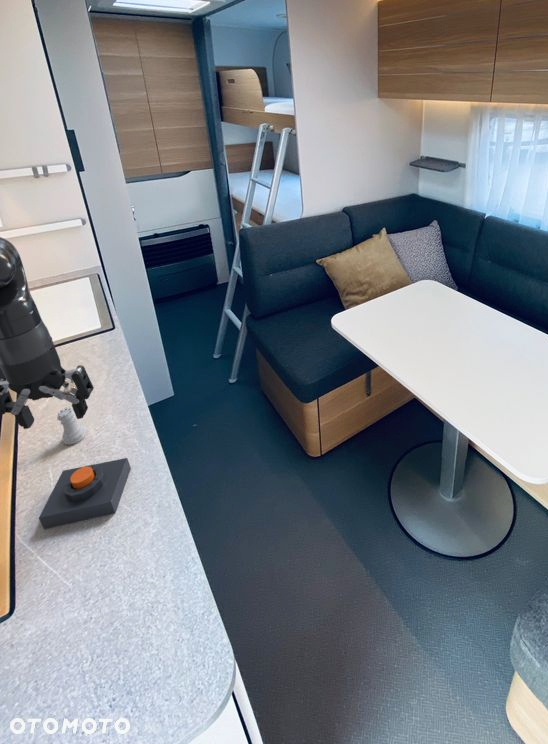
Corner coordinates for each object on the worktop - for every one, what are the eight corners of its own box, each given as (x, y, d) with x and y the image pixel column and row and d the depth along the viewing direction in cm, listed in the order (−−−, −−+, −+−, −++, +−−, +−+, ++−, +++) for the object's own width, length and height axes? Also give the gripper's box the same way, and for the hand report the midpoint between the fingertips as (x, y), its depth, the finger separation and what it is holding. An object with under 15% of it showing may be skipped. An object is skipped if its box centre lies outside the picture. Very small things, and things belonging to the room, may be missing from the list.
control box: (44, 529, 76) (34, 511, 74) (67, 481, 85) (60, 464, 83) (115, 513, 78) (108, 495, 76) (131, 468, 87) (125, 451, 85)
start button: (69, 491, 78) (66, 485, 77) (77, 474, 81) (74, 468, 80) (90, 487, 78) (87, 480, 78) (97, 470, 82) (95, 464, 81)
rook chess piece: (69, 449, 92) (58, 422, 89) (60, 440, 94) (48, 414, 91) (90, 435, 96) (80, 408, 92) (81, 427, 98) (70, 401, 95)
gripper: (-39, 371, 65) (0, 445, 71) (63, 355, 68) (91, 427, 75) (-11, 343, 72) (22, 413, 78) (80, 330, 75) (105, 398, 81)
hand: (56, 420), depth 76 cm, fingers open, 8 cm apart
